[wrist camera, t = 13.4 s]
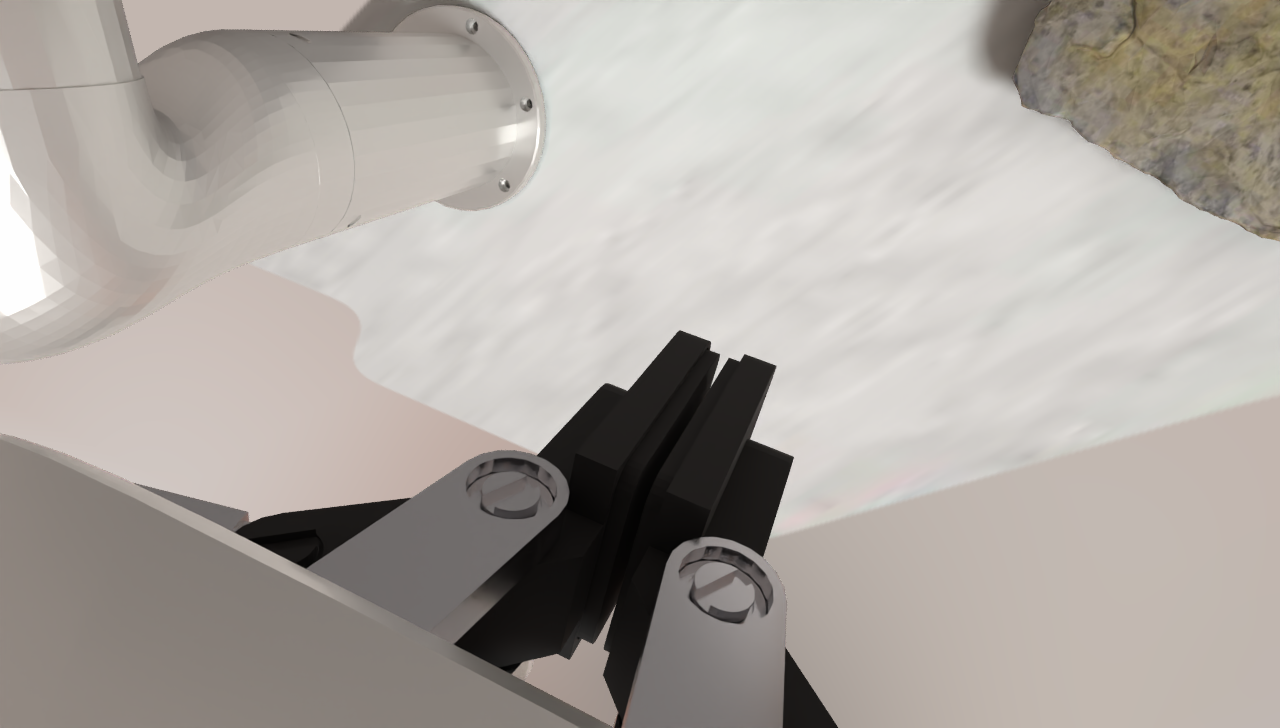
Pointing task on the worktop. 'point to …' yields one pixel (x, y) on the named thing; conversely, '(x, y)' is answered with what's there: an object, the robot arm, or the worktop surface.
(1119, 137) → the stone
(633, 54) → the worktop surface
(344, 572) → the robot arm
